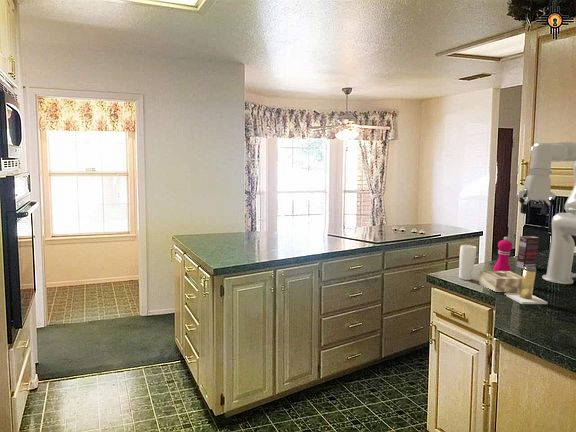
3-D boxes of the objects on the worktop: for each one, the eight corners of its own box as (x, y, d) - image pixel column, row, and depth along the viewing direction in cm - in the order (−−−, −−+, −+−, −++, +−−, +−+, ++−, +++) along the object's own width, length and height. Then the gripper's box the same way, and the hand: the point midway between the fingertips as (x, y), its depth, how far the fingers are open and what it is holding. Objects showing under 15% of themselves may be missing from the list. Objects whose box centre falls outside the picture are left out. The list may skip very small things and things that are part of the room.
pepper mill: (511, 283, 210) (516, 238, 207) (493, 281, 211) (499, 237, 208) (507, 278, 217) (512, 236, 214) (490, 277, 218) (495, 234, 215)
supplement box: (528, 265, 246) (532, 235, 244) (536, 268, 242) (540, 237, 239) (515, 266, 243) (519, 236, 241) (523, 268, 239) (527, 237, 236)
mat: (528, 295, 193) (528, 293, 193) (547, 304, 182) (547, 302, 182) (504, 294, 191) (504, 292, 191) (521, 304, 180) (521, 302, 180)
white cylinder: (453, 277, 214) (457, 244, 212) (465, 276, 217) (468, 244, 214) (464, 281, 208) (468, 248, 206) (476, 280, 211) (480, 247, 208)
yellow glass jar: (526, 295, 189) (531, 266, 187) (534, 299, 185) (538, 269, 183) (516, 295, 188) (521, 266, 187) (524, 299, 184) (528, 269, 182)
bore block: (508, 284, 207) (509, 271, 206) (525, 293, 195) (527, 279, 195) (478, 284, 205) (480, 270, 204) (494, 292, 193) (496, 278, 192)
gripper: (551, 173, 201) (546, 213, 203) (514, 171, 198) (509, 211, 200) (564, 174, 193) (558, 216, 196) (526, 172, 190) (520, 214, 193)
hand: (533, 213), depth 198 cm, fingers open, 9 cm apart
